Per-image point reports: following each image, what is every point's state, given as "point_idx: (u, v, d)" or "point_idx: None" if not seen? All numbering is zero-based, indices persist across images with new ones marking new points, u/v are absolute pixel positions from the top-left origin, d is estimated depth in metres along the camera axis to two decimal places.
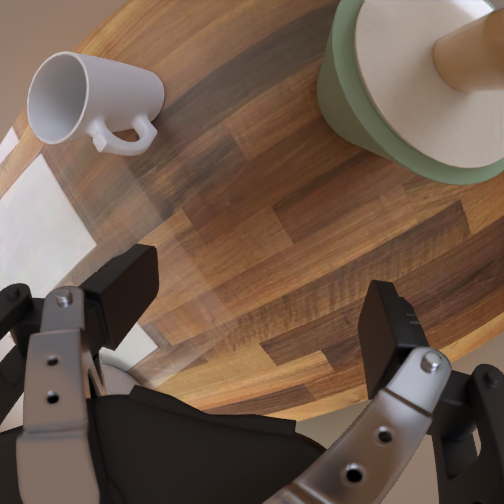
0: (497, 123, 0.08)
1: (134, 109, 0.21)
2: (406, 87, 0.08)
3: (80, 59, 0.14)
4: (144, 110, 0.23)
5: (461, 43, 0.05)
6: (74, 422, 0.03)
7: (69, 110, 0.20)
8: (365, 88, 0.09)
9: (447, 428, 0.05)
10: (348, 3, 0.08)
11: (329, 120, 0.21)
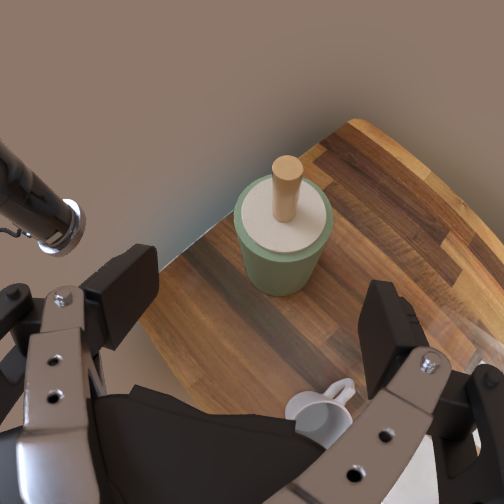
0: None
1: (321, 395, 0.33)
2: (304, 230, 0.29)
3: (297, 413, 0.27)
4: (319, 394, 0.35)
5: (288, 210, 0.27)
6: (74, 423, 0.03)
7: (323, 442, 0.29)
8: (310, 245, 0.28)
9: (447, 428, 0.05)
10: (273, 257, 0.28)
11: (307, 279, 0.40)
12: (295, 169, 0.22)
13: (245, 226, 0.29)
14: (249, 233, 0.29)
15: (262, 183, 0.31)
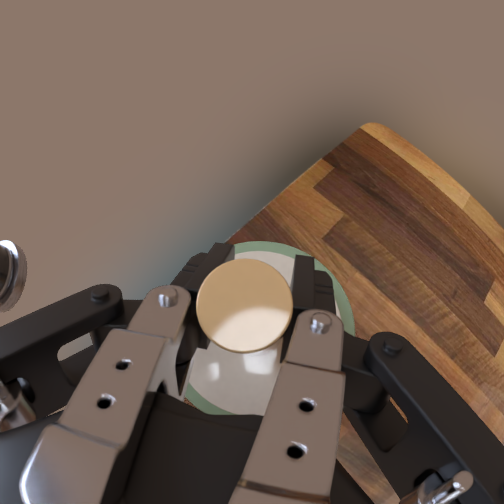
0: (288, 285, 0.15)
1: None
2: None
3: None
4: None
5: (260, 355, 0.11)
6: (112, 436, 0.03)
7: None
8: None
9: (348, 395, 0.07)
10: None
11: None
12: (268, 310, 0.07)
13: None
14: None
15: None
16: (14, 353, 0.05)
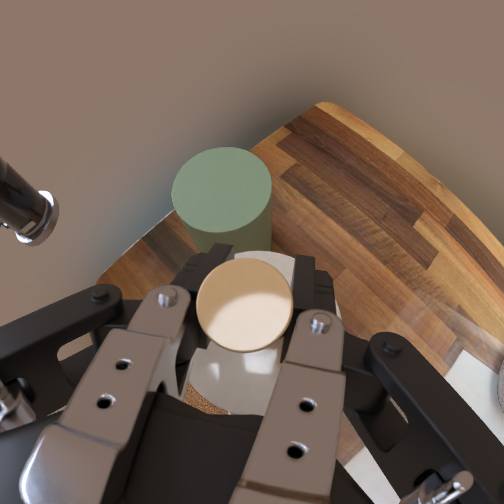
0: (288, 284, 0.15)
1: None
2: None
3: None
4: None
5: (260, 355, 0.11)
6: (112, 436, 0.03)
7: None
8: None
9: (348, 395, 0.07)
10: (206, 228, 0.28)
11: None
12: (268, 309, 0.07)
13: None
14: None
15: None
16: (14, 353, 0.05)
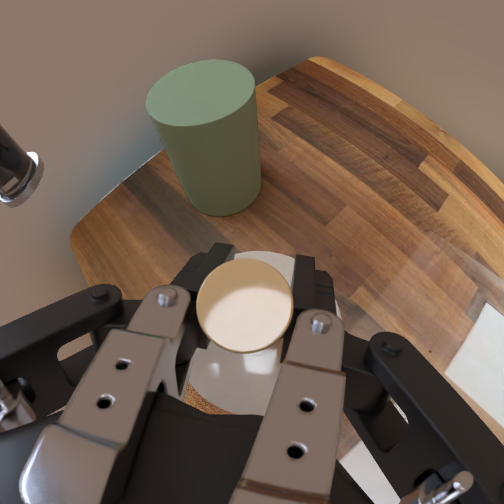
0: (288, 284, 0.15)
1: None
2: None
3: None
4: None
5: None
6: (112, 436, 0.03)
7: None
8: None
9: (348, 395, 0.07)
10: (179, 123, 0.22)
11: (248, 188, 0.34)
12: (268, 310, 0.07)
13: None
14: None
15: None
16: (14, 353, 0.05)
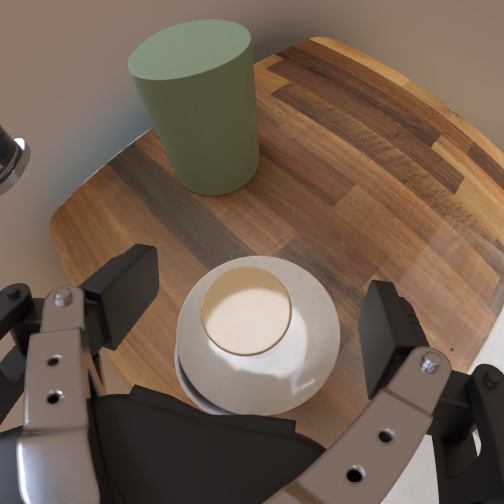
0: (288, 288, 0.15)
1: None
2: (296, 373, 0.14)
3: None
4: None
5: (260, 357, 0.12)
6: (74, 423, 0.03)
7: None
8: (306, 399, 0.14)
9: (447, 428, 0.05)
10: (162, 77, 0.18)
11: (244, 162, 0.29)
12: (268, 315, 0.08)
13: (183, 364, 0.14)
14: (190, 378, 0.14)
15: (217, 272, 0.16)
16: None
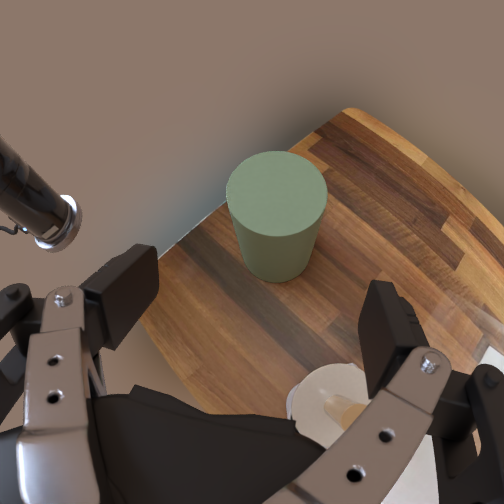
0: (352, 381, 0.25)
1: None
2: None
3: None
4: None
5: None
6: (75, 422, 0.03)
7: None
8: None
9: (447, 428, 0.05)
10: (266, 232, 0.28)
11: (304, 263, 0.39)
12: None
13: (296, 425, 0.24)
14: (300, 431, 0.24)
15: (313, 374, 0.26)
16: None
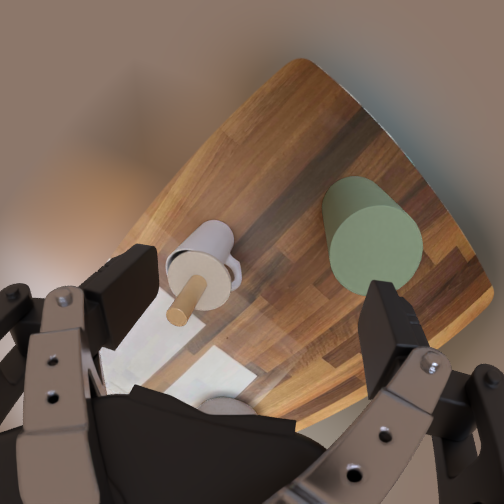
0: (217, 294, 0.37)
1: (226, 258, 0.43)
2: None
3: None
4: (229, 253, 0.45)
5: None
6: (74, 423, 0.03)
7: None
8: None
9: (447, 428, 0.05)
10: (333, 244, 0.29)
11: None
12: (176, 322, 0.31)
13: (180, 255, 0.36)
14: (176, 258, 0.36)
15: (220, 268, 0.36)
16: None
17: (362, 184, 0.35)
